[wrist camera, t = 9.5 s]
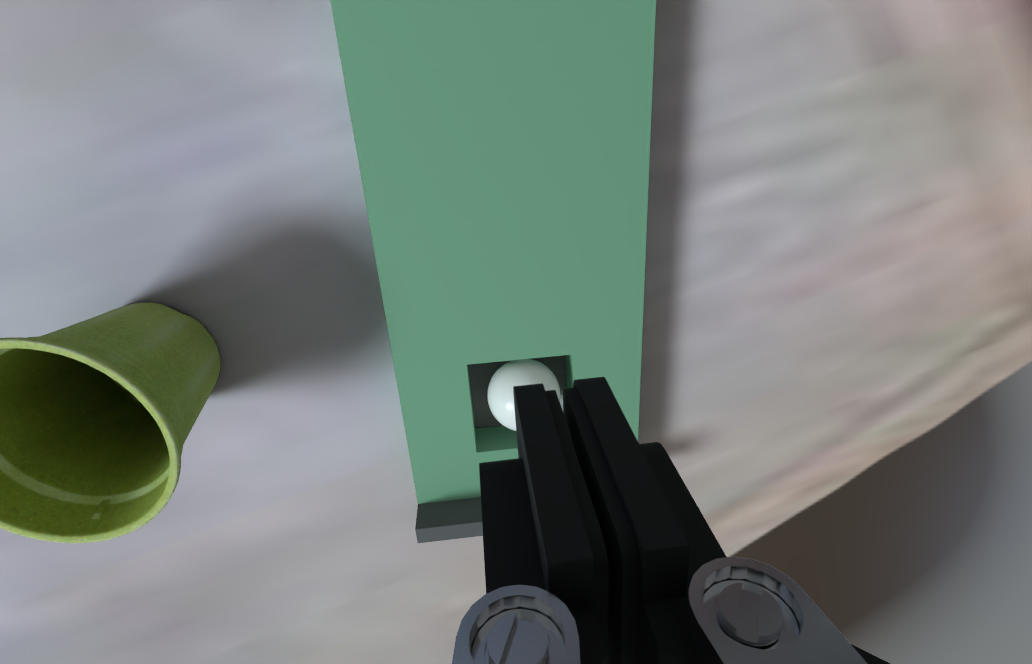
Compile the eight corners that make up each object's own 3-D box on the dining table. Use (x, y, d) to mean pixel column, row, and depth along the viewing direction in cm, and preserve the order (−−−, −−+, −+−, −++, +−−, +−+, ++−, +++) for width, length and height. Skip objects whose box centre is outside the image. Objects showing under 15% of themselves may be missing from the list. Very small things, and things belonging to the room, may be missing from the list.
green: (334, -40, 22) (306, -69, 18) (640, -55, 23) (677, -87, 19) (423, 489, 34) (417, 543, 30) (624, 467, 35) (646, 516, 31)
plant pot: (21, 300, 27) (-163, 387, 19) (197, 244, 26) (84, 309, 19) (129, 446, 31) (14, 568, 23) (284, 398, 30) (222, 506, 22)
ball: (483, 357, 28) (488, 435, 27) (560, 352, 28) (567, 430, 27) (486, 364, 32) (490, 432, 31) (554, 359, 32) (559, 428, 31)
